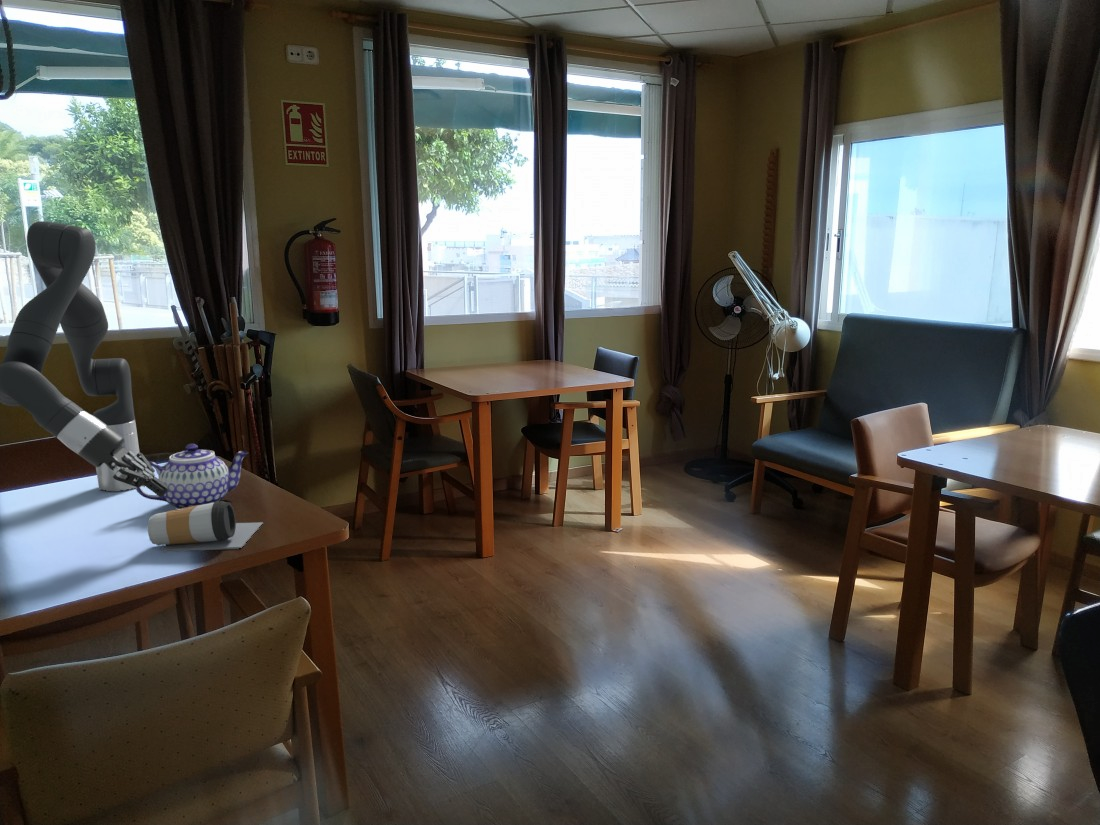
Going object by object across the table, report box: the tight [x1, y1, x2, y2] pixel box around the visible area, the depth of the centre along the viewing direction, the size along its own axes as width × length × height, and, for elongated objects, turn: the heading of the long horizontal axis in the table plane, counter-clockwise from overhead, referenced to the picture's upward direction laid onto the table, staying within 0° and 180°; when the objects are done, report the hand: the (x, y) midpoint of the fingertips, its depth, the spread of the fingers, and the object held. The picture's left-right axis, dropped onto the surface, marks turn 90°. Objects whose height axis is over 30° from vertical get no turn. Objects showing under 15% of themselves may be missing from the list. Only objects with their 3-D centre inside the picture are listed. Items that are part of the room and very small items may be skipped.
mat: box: [160, 521, 264, 552], centre depth 158 cm, size 16×14×1 cm
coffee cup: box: [147, 500, 237, 546], centre depth 153 cm, size 8×8×15 cm
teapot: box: [134, 443, 249, 510], centre depth 177 cm, size 25×15×15 cm, turn 121°
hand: (165, 492), depth 153 cm, fingers closed
